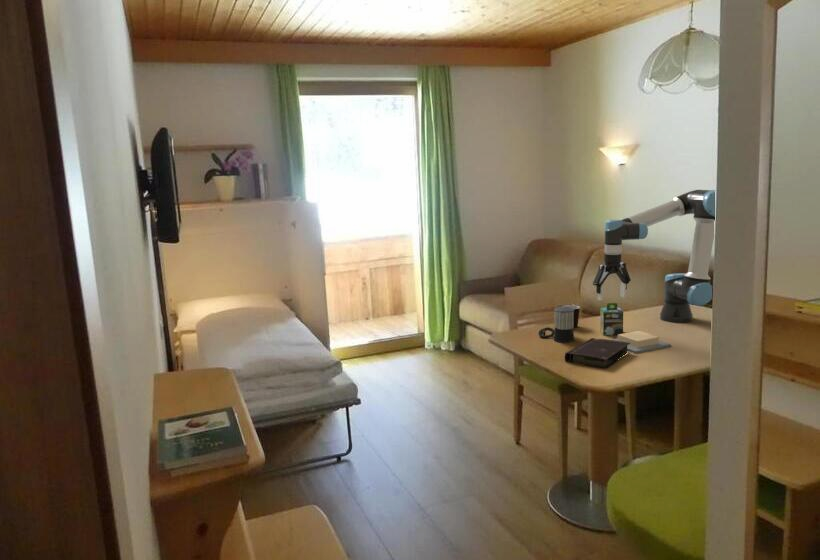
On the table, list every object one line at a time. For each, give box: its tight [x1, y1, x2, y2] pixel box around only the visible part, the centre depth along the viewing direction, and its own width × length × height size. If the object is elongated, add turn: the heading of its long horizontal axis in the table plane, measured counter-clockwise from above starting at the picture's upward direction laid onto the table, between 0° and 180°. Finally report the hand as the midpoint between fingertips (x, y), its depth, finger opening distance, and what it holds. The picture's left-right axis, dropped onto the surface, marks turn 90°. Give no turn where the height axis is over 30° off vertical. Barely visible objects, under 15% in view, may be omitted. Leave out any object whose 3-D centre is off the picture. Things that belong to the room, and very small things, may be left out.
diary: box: [564, 337, 630, 370], centre depth 252 cm, size 19×25×5 cm
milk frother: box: [538, 306, 575, 344], centre depth 280 cm, size 14×16×15 cm
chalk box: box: [599, 302, 624, 336], centre depth 285 cm, size 9×9×15 cm
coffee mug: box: [561, 304, 581, 329], centre depth 300 cm, size 12×9×10 cm
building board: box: [612, 330, 672, 354], centre depth 267 cm, size 20×18×4 cm
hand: (611, 298), depth 283 cm, fingers open, 13 cm apart
